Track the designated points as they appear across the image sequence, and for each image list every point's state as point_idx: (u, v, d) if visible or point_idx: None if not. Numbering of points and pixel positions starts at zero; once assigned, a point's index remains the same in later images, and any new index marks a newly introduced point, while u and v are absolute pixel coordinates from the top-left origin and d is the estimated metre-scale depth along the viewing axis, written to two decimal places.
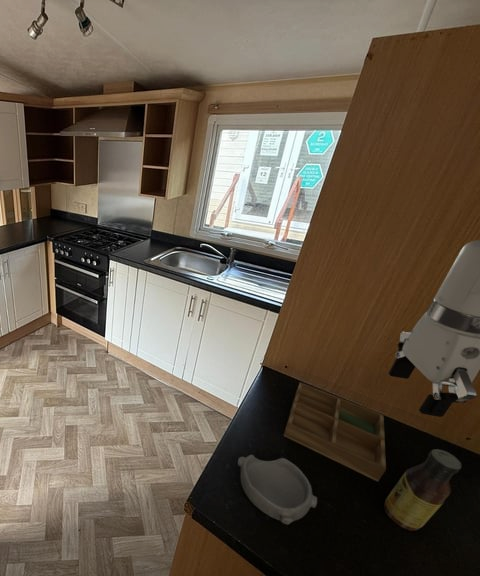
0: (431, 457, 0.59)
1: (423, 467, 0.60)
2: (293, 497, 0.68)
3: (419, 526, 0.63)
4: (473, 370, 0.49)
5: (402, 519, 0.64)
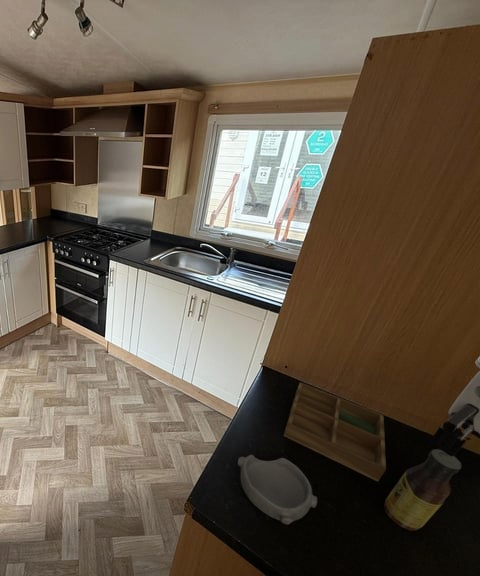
0: (431, 457, 0.59)
1: (423, 467, 0.60)
2: (293, 497, 0.68)
3: (419, 526, 0.63)
4: None
5: (402, 519, 0.64)
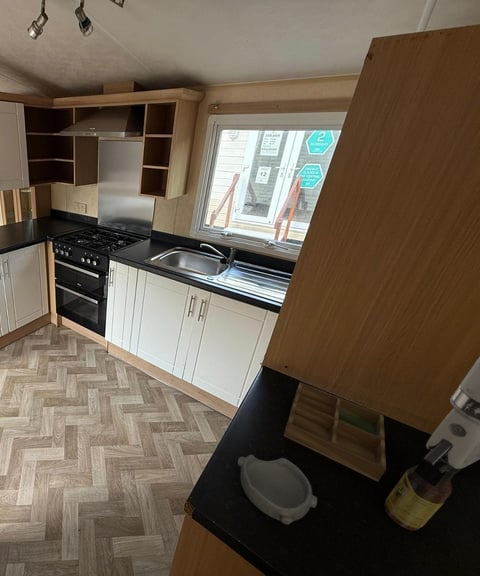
0: None
1: None
2: (293, 497, 0.68)
3: (419, 526, 0.63)
4: (459, 449, 0.53)
5: (403, 518, 0.64)
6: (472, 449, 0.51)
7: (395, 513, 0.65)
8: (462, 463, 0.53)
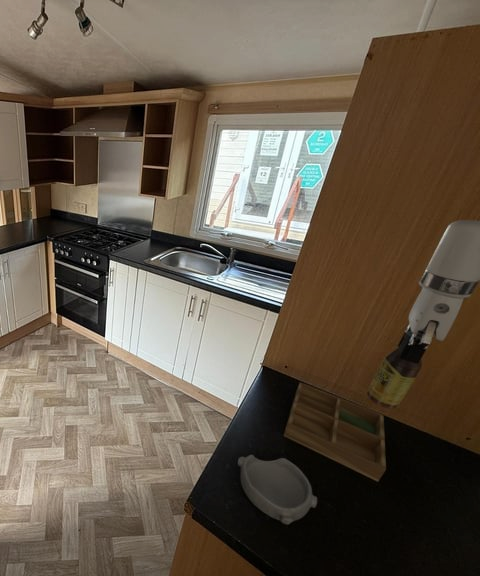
0: None
1: None
2: (293, 497, 0.68)
3: (400, 401, 0.75)
4: (445, 324, 0.62)
5: (391, 401, 0.74)
6: (454, 319, 0.61)
7: (384, 399, 0.75)
8: (446, 334, 0.63)
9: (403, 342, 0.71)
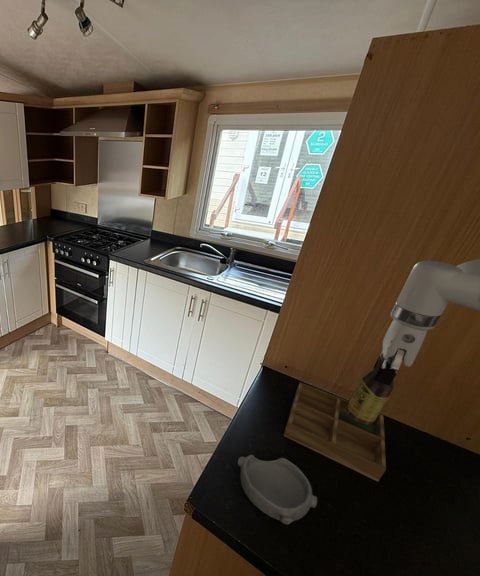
0: None
1: None
2: (293, 497, 0.68)
3: (376, 417, 0.82)
4: (411, 352, 0.69)
5: (367, 418, 0.82)
6: (419, 348, 0.69)
7: (361, 416, 0.82)
8: (413, 361, 0.70)
9: (377, 365, 0.78)
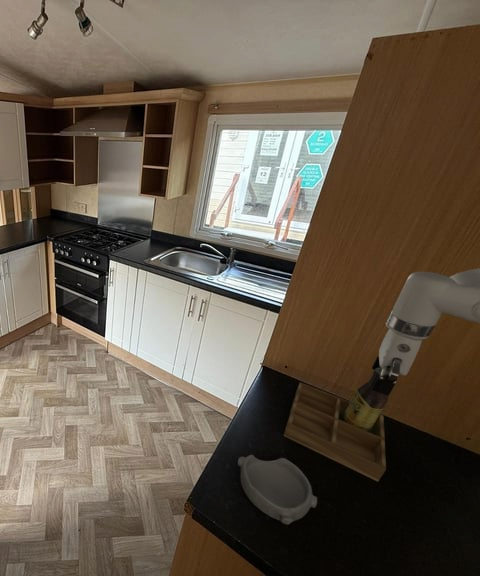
0: (378, 376, 0.77)
1: (372, 385, 0.79)
2: (293, 497, 0.68)
3: (371, 427, 0.84)
4: (406, 361, 0.70)
5: (362, 428, 0.83)
6: (414, 358, 0.70)
7: (356, 426, 0.84)
8: (408, 370, 0.71)
9: (372, 377, 0.79)
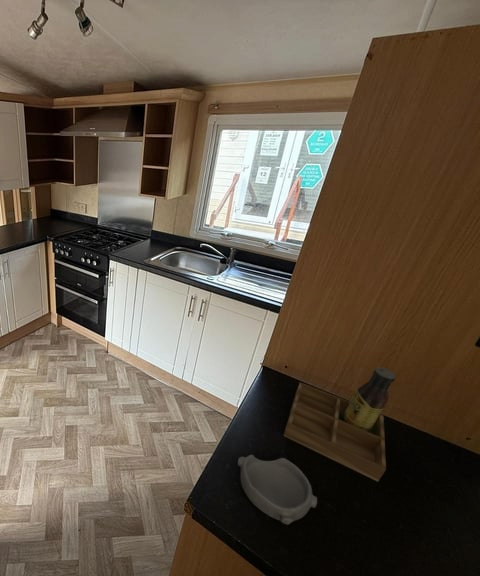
0: (378, 376, 0.77)
1: (372, 385, 0.79)
2: (293, 497, 0.68)
3: (371, 427, 0.84)
4: None
5: (362, 428, 0.83)
6: None
7: (356, 426, 0.84)
8: None
9: (372, 377, 0.79)
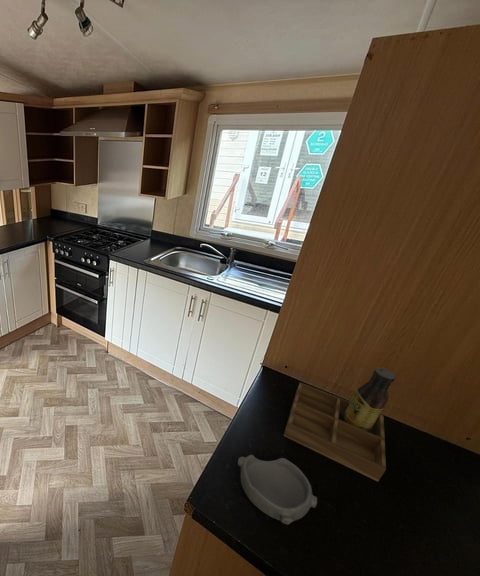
0: (378, 376, 0.77)
1: (372, 385, 0.79)
2: (293, 497, 0.68)
3: (371, 427, 0.84)
4: None
5: (362, 428, 0.83)
6: None
7: (356, 426, 0.84)
8: None
9: (372, 377, 0.79)
